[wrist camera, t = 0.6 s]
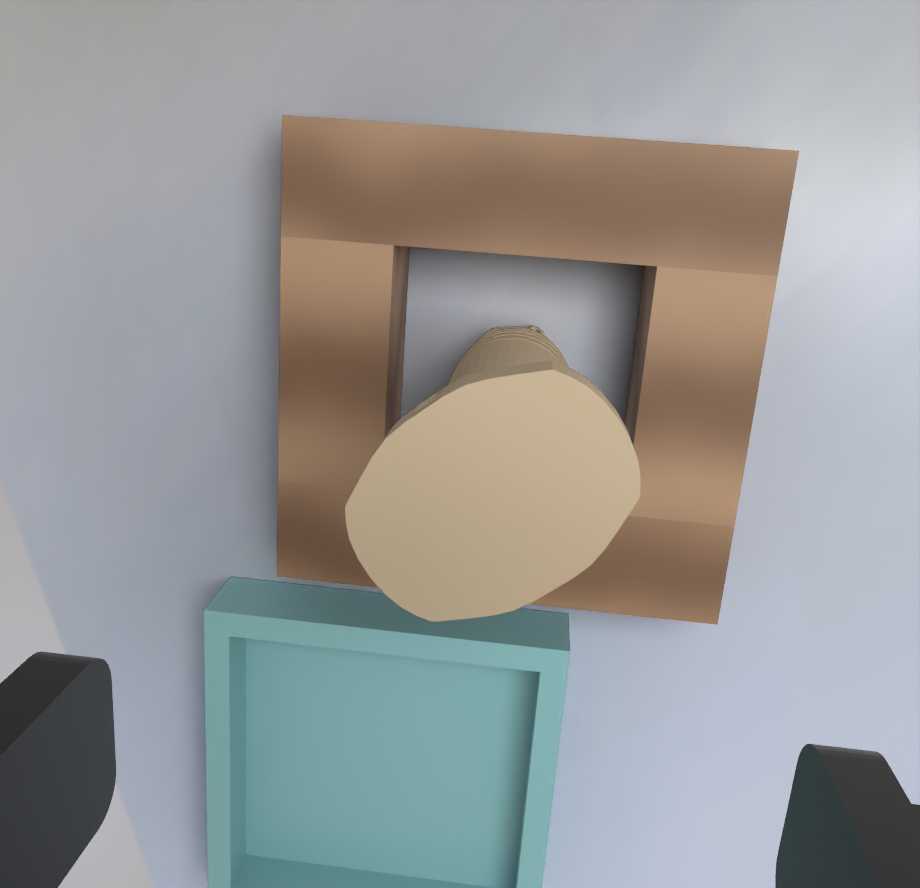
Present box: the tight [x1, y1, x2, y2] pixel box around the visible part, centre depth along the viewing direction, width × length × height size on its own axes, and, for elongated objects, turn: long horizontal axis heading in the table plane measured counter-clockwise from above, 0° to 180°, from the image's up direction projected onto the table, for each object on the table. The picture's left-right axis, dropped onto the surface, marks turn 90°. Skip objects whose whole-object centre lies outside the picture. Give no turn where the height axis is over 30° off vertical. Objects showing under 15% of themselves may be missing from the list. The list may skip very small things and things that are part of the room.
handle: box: [345, 326, 641, 622], centre depth 26 cm, size 5×6×15 cm
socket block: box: [277, 115, 799, 624], centre depth 31 cm, size 16×16×4 cm
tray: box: [204, 577, 570, 888], centre depth 37 cm, size 14×14×3 cm
